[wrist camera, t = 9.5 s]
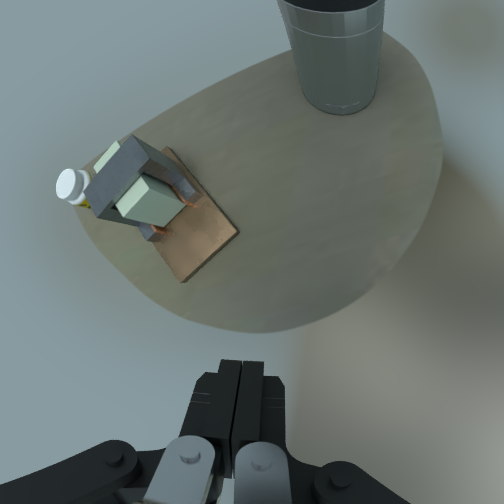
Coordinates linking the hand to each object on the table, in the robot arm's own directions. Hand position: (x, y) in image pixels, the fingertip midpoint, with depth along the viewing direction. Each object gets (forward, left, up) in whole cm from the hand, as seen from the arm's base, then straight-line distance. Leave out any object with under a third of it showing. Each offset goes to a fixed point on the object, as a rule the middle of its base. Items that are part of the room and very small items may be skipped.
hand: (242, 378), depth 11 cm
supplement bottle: (-14, -28, -24) cm, 40 cm away
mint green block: (-13, -18, -22) cm, 31 cm away
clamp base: (-11, -16, -24) cm, 31 cm away
